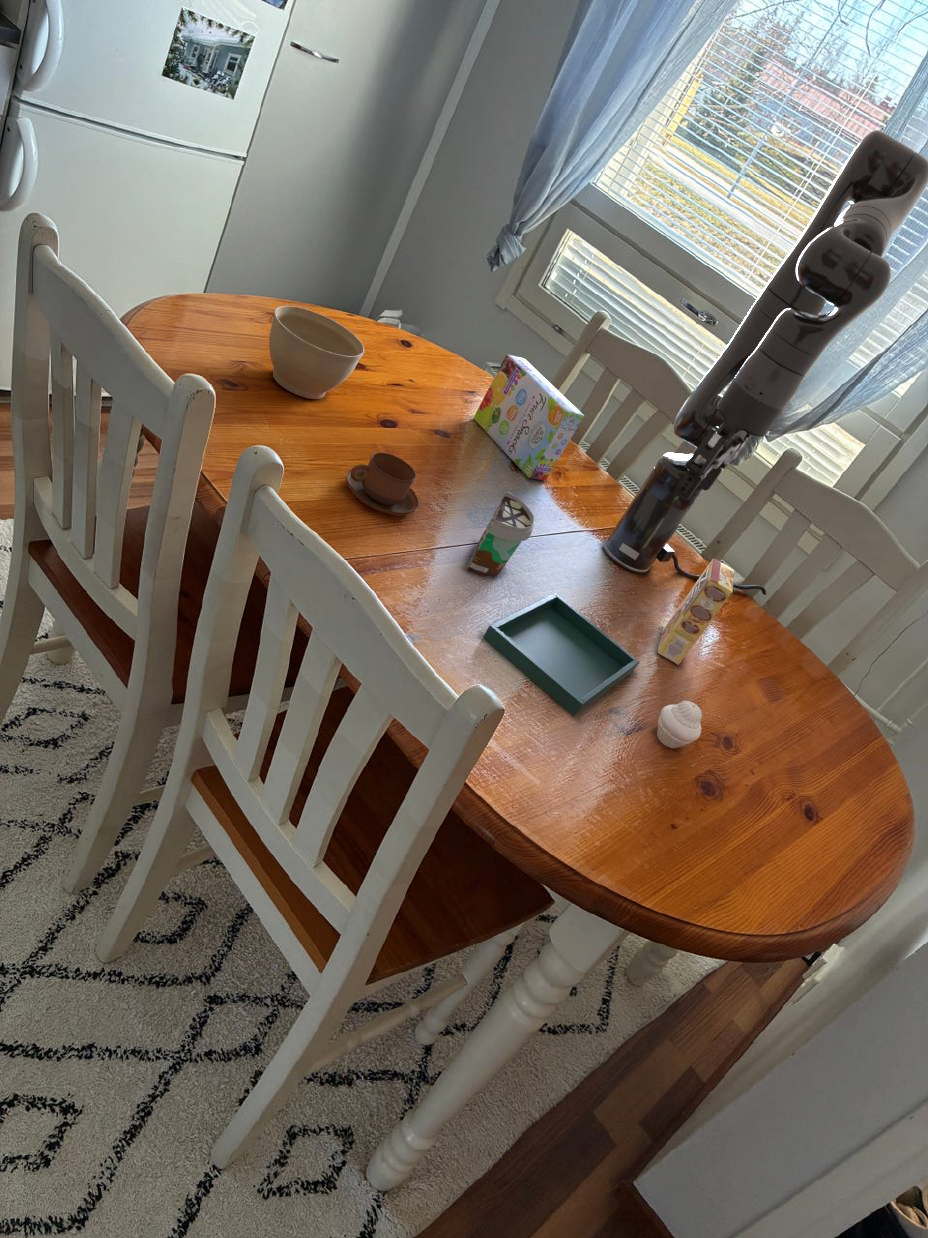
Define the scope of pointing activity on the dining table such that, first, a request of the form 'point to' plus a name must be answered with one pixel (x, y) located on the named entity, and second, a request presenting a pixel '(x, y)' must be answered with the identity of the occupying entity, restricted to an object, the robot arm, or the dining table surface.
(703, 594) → the candy box
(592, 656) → the tray
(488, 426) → the snack box
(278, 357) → the planter bowl
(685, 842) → the dining table surface
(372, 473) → the cup and saucer
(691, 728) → the muffin
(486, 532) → the food container
